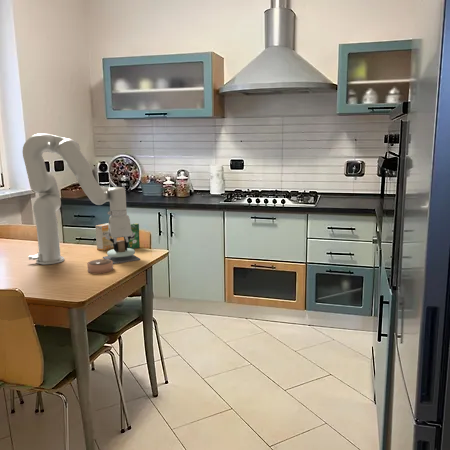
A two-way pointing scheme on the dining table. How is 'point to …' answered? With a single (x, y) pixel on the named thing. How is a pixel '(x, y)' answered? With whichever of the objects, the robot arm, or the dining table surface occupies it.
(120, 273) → the dining table surface
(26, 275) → the dining table surface
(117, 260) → the mat
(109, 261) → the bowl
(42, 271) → the dining table surface
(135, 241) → the coffee box
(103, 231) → the supplement box
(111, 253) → the lid
